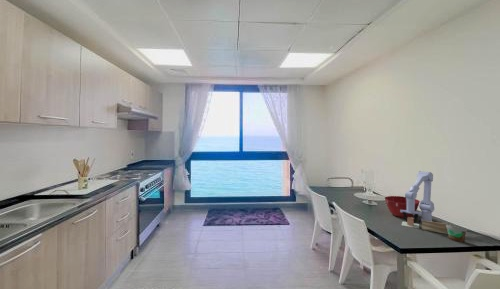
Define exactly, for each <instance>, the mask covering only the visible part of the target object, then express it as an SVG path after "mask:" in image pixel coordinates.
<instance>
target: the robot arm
mask: <svg viewBox="0 0 500 289" xmlns="http://www.w3.org/2000/svg"><path fill="white" fill-rule="evenodd" d="M416 175H417V176H416V180H415V183H414V184H412V185H411V186H410V188H409V189H408V191H406V192H405V193H404V197H406V200H407V210H400V212H401V213H402V212H403V215H404V217H405V218H404V219H405V222H407V213H410V214H414V215H413V216H414V217H413V218H414V223H416V221H417V219H418V217H419V216H421V218H420V222H421V223H422V220H425V221H431V222H433V220H432V216H433V215H432V214H433V212H434V211H435V204H434V202H433V201H431V197H432V196H431V193H432V182H433V180H434V173H432V172H431V171H421V170H419V171H418V172H417V174H416ZM422 184H423V194H422V195H423V197H422V199H421V200H419V201H420V203H419V206H418V208H419V209H420V211H417V210H416V211H415V199H416V200H417V197H418V196H417V195H418V192H419V190H420V189H421V188H420V186H421V185H422Z"/></svg>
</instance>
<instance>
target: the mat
mask: <svg viewBox="0 0 500 289" xmlns="http://www.w3.org/2000/svg"><path fill="white" fill-rule="evenodd" d="M400 226H402V227H409V228H413V229H420V224H419V223H416V222H415V223H414V226H411V225H407V222H406V221H402V222H401V225H400Z"/></svg>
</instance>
